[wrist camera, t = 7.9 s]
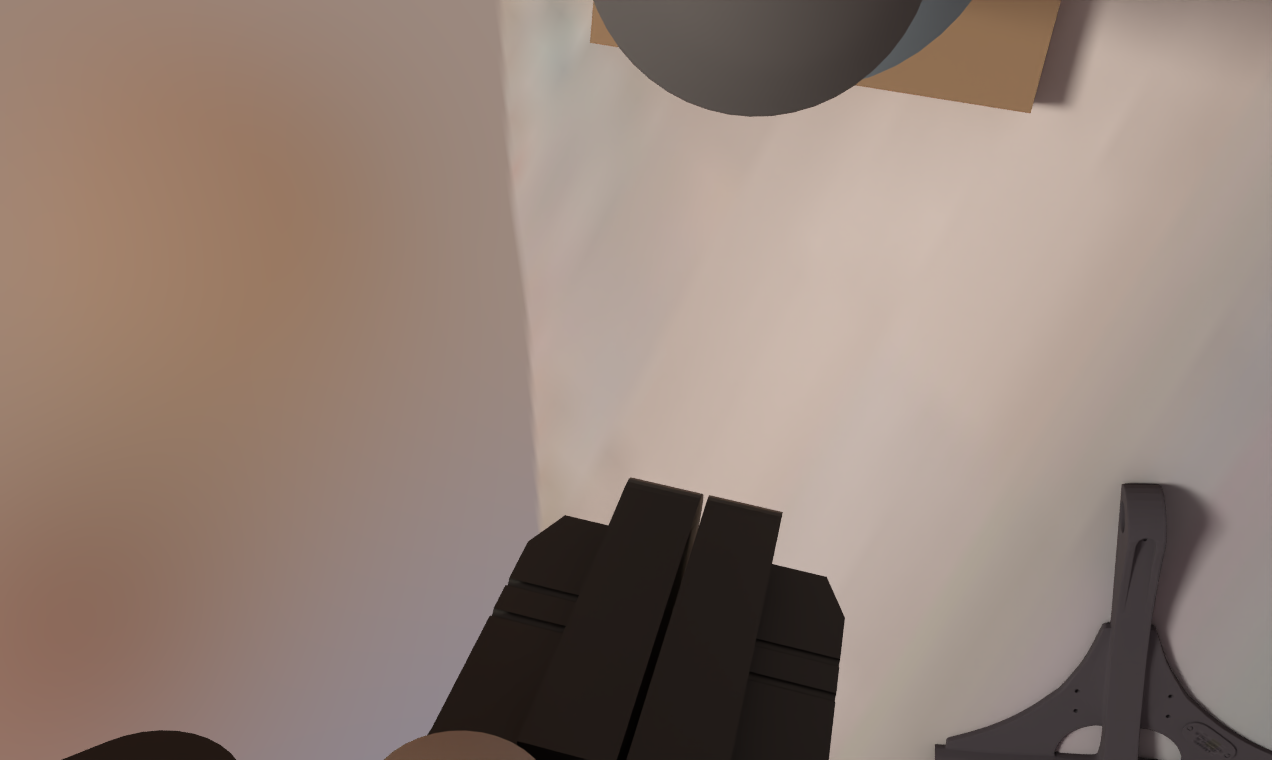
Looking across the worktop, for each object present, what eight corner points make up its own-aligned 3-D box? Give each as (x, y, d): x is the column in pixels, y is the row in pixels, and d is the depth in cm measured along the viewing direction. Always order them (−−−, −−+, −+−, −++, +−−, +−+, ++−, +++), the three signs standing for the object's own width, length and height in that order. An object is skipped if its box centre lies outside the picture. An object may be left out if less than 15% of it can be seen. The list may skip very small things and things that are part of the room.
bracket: (1359, 474, 42) (1383, 518, 40) (1302, 788, 49) (1320, 843, 46) (934, 465, 46) (933, 506, 43) (934, 759, 52) (934, 808, 50)
